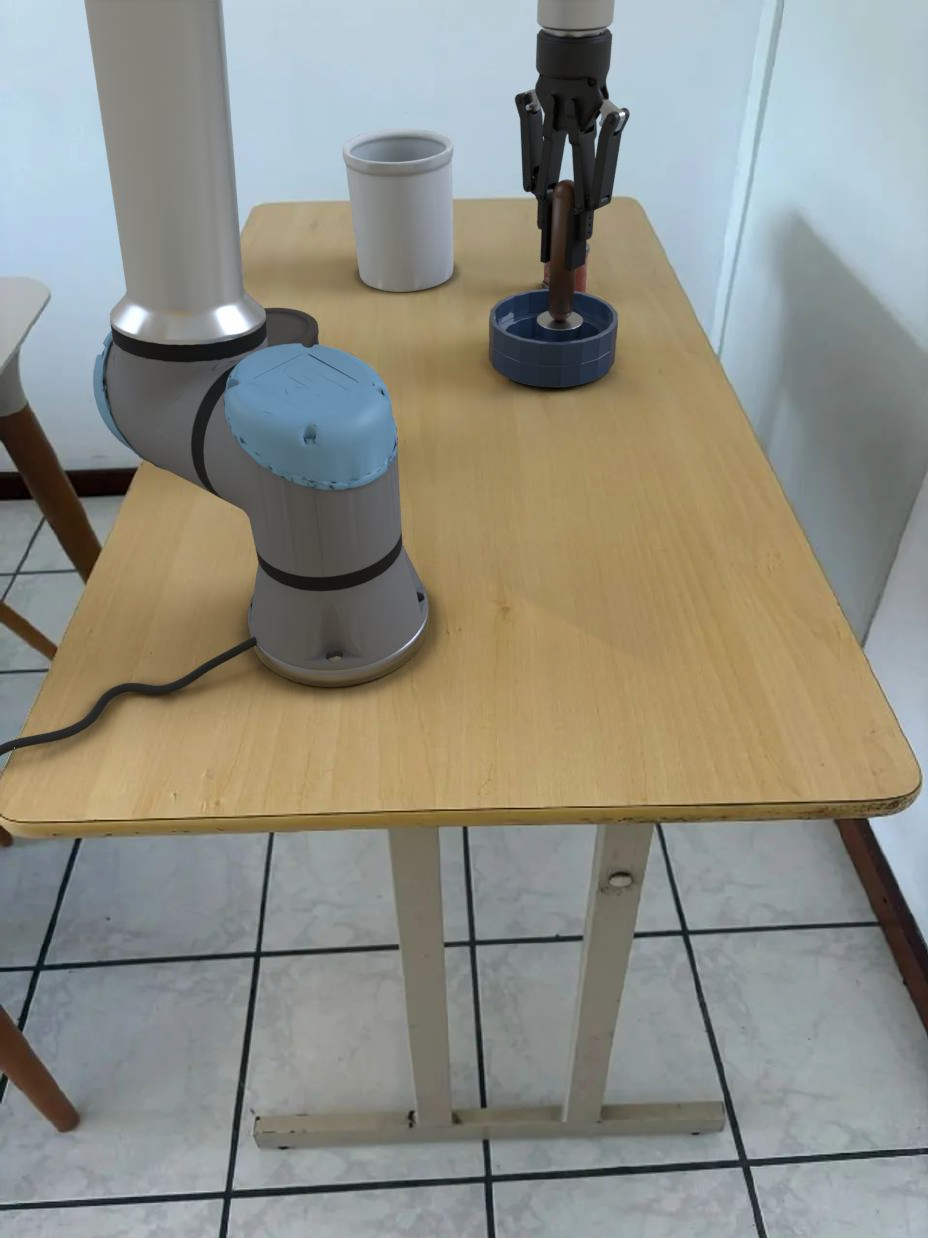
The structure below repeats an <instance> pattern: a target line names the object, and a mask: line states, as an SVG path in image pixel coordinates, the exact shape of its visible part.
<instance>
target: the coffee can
mask: <svg viewBox="0 0 928 1238" xmlns="http://www.w3.org/2000/svg"><path fill="white" fill-rule="evenodd" d="M263 308H264V310H265V313H266V328H267V342H268V347H272V346H277V345H283V344H300V343H301V344H302V345H303V346H304V347H306V348H311V347H313V346H314V345H316V344H317V345H320V341H319V334H320V333H319V332H320V330H319V324H318V321H317V320H316V318H314V317H313V316H312V315H311V314H308V313H307V312H304V311H301V310H298V309H295V308H294V309H293V308H287V307H263Z"/></svg>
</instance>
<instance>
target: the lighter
mask: <svg viewBox="0 0 928 1238" xmlns="http://www.w3.org/2000/svg"><path fill="white" fill-rule="evenodd" d="M590 253H591V245H590V244H589V243H588V242H587V244H586V259H585V264H584V265H582V266H580V267H579V268H577V269H575V285H574V291H577V292H584V293H587V292H586V291H587V279H588V278H587V277H588V276H587V275H588V262H589V254H590ZM543 264H544V266H543V280H542V281H541V289H549V270H550V261H549V262H547V263H543Z"/></svg>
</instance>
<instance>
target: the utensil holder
mask: <svg viewBox="0 0 928 1238" xmlns="http://www.w3.org/2000/svg"><path fill="white" fill-rule="evenodd" d="M454 149H455V148H454V142H453V140H452V139H451V138H450V137H449V136H447V135H445V134H443V133H440V132H437V131H433V130H427V129H419V128H389V129H382V130H381V129H380V130H375V131H370V132H369V131H368V132H365V133H361V134H359V135H356V136H354V137H352V138H350V139H349V140H347V141H346V142H344V144H343V146H342V160H343V162H344V163H345V169H346V170H345V171H346V179H347V187H348V188H347V189H348V194H349V203H350V211H351V218H352V228H353V237H354V243H355V249H356V258H357V265H358V266H357V267H358V272H359V277H360V279H361V281H362V282H363V283H364V284H365V285H367V286H369V287H371V288H373V289H376V290H380V291H385V292H392V293H393V292H394V293H411V292H419V291H425V290H428V289H432V288H435V287H438V286H440V285H443V284H444V283H446V282H447V281H448V280H450V278H451V277H452V275H453V274H454V197H453V196H454V195H453V164H452V158H453V157H454Z"/></svg>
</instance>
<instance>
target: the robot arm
mask: <svg viewBox="0 0 928 1238" xmlns="http://www.w3.org/2000/svg"><path fill="white" fill-rule="evenodd" d="M615 1H616V0H537V1H536V2H537V6H536V22H537V25H539V26H540V27H541V29H540V30H539V31H538V33H537V34H536V45H535V46H536V50H535V69H536V72H537V73H538V78H537V80H536V82H535V85H534V88H533V89H530V90H527V91H524V92H523V91H522V92H521V93H518V94H516V95H515V96H514V104H515V106H516V111H517V113H518V117H519V124H520V125H519V128H520V131H519V132H520V150H521V151H520V152H521V153H520V155H521V173H522V174H521V175H522V176H521V177H522V189H523V191H524V192H525V193H530V194H532V195H534V196H535V197H534V198H535V199H536V201H537V211H536V227H537V229H538V230H540V231H541V233H540V257H539V258H540V259H539V260H540V261H539V262H540V263H543V264H544V263H547V262H549V261H550V247H551V224H552V200H553V190H554V188H555V186H556V185H557V183H559V182H560V177H561V171H562V164H563V163H562V162H563V158H564V153H565V147H566V146H565V145H566V140H568V143H569V144H570V146H571V157H572V173H573V181H574V193H575V207H573V208H571V210H570V211H569V218H568V236H567V255H566V270H568V271H573V270H575V269H577V268H579V267H580V266H582V265H584V264H585V259H586V244H587V243H588V241H587V240H590V239H592V236H593V234H594V233H593V232H594V221H595V219H594V218H595V211H596V210H598V209H601V208H603V207H605V206H607V205H609V204H611V202H612V198H613V192H614V185H615V179H616V171H617V165H618V161H619V152H620V148H621V147H620V146H621V141H622V136H623V135H622V134H623V132H624V129H625V127H626V125H627V123H628V121H629V119H630V114H631V113H630V111H629V109H628V108H627V107H622V108H619V107H618V106H616V104H615V103H613V102H612V101H611V100H610V94H609V89H608V86H607V78H608V74H609V71H610V69H611V59H612V45H613V33H612V32H611V30H610V29H609V28H608V27H610V25H612V24H613V23H614V17H615V16H614V14H615V4H616V3H615ZM83 2H84V9H85V15H86V23H87V29H88V37H89V43H90V44H89V45H90V48H91V49H90V50H91V57H92V64H93V70H94V77H95V84H96V91H97V98H98V105H99V112H100V119H101V126H102V131H103V138H104V146H105V152H106V158H107V165H108V173H109V180H110V186H111V193H112V200H113V207H114V214H115V220H116V227H117V232H118V233H117V235H118V241H119V247H120V254H121V261H122V268H123V274H124V282H125V289H126V290H125V291H126V292H125V294H124V295H123V296H122V297H121V298H120V300H119V301H118V302H117V303H116V304H115V305H114V306H113V308H111V310H110V313H109V323H110V324H109V325H110V330H109V331H110V332H109V333H108V334H107V335H106V337H105V338H104V340H103V341H102V345H103V346H104V348H103V350H102V352H101V353H100V354H96V357H95V361H94V367H93V371H92V372H93V373H92V374H93V375H92V389H93V396H94V400H95V403H96V408H97V410H98V413H99V415H100V417H101V419H102V421H103V423H104V425H105V426H106V427H107V429H108V430H109V432H110V433H111V435H113V437H115V439H117V440H118V442H120V443H121V444H122V445H124V446H125V447H126V448H128V449H130V451H132V452H133V453H134V454H135V455H136V456H138V457H139V458H140V459H141V460H143V461H145V462H148V463H150V464H152V465H153V467H156V468H158V469H161V470H164V471H168V472H170V473H172V474H173V475H176V476H178V477H180V478H182V479H183V480H185V481H187V482H189V483H191V484H193V485H195V486H197V487H199V488H201V489H202V490H204V491H206V492H208V493H210V494H212V495H214V496H216V497H217V498H219V499H221V500H223V501H225V502H227V503H229V504H230V505H233V506H234V507H237V508H238V509H240V510H242V511H243V512H244V513H245V514H246V516H247V517H248V519H249V525H250V530H251V534H252V538H253V539H252V540H253V544H254V549H255V552H256V557H257V568H256V573H255V574H256V575H255V581H254V587H253V588H254V589H253V593H252V596H251V598H250V603H249V605H248V611H247V626H248V631H249V635H250V638H248V639H246V640H245V641H243V642H241V643H239V644H237V645H235V646H233V647H231V648H230V649H227V650H225V651H224V652H222V653H220V654H218V655H217V656H215V657H213V658H211V659H209V660H207V661H206V662H204V663H203V664H201V665H199V666H198V667H197V668H195V669H194V670H192V671H191V672H189V673H187V674H186V675H185V676H183V677H181V678H179V679H177V680H175V681H173V682H169V683H167V684H162V685H161V684H160V685H154V684H153V685H152V684H146V683H145V684H144V683H138V682H125V683H120V684H118V685H116V686H113V687H111V688H110V689H108V690H107V691H106V692H104V693H103V694H102V695H101V696H100V697H99V699H98V700H97V701H96V703H95V705H94V706H93V708H92V709H91V710H90V711H89V712H88V714H87V715H86V716H85V717H83V718H82V719H81V720H79V721H77V722H75V723H74V724H72V725H70V726H67V727H64V728H62V729H57V730H54V731H51V732H50V731H49V732H44V733H39V734H34V735H28V736H23V737H19V738H15V739H11V740H9V741H6V742H4V743H1V744H0V757H1V756H4V755H5V754H7V753H9V752H12V751H16V750H18V749H22V748H23V749H24V748H26V747H27V748H28V747H32V746H38V745H43V744H47V743H52V742H57V741H60V740H64V739H66V738H69V737H72V736H75V735H77V734H79V733H81V732H82V731H84V730H86V729H87V728H89V727H90V726H92V725H93V724H94V723H95V722H96V721H97V719H98V718H99V717H100V715H102V712H103V711H104V710H105V708H106V706H107V705H108V704H109V703H110V702H111V700H113V699H114V698H116V697H117V696H119V695H122V694H125V693H140V694H145V695H146V694H147V695H154V696H157V695H159V696H161V695H167V694H170V693H174V692H177V691H178V690H181V689H184V688H185V687H187V686H188V685H190V684H193V683H194V682H196V681H197V680H198V679H200V678H201V677H202V676H204V675H205V674H207V673H208V672H210V671H212V670H213V669H215V668H217V667H219V666H220V665H222V664H224V663H226V662H227V661H230V660H232V659H233V658H235V657H237V656H240V655H242V654H243V653H244V652H246V651H248V650H250V649H253V650H254V652H255V654H256V655H257V657H258V658H259V660H260V661H261V662H262V664H264V665H265V666H266V668H268V669H269V670H271V671H272V672H274V673H275V674H276V675H278V676H280V677H282V678H285V679H287V680H289V681H292V682H296V683H299V684H302V685H307V686H313V687H325V688H333V687H334V688H337V687H347V686H355V685H360V684H363V683H364V684H365V683H367V682H371V681H374V680H376V679H379V678H382V677H384V676H386V675H389V674H390V673H392V672H393V671H395V670H397V669H399V668H400V667H402V666H403V665H404V664H406V663H407V662H408V661H409V660H410V659H411V658H412V657H414V655H415V654H416V653H417V652H418V651H419V649H420V648H422V645H423V644H424V642H425V640H426V638H427V635H428V632H429V628H430V605H429V604H430V603H429V596H428V593H427V590H426V588H425V585H424V584H423V582H422V580H421V579H420V576H419V574H418V572H417V570H416V567H415V566H414V564H413V562H412V560H411V557H410V556H409V554H408V552H407V549H406V548H405V546H404V542H403V530H402V511H401V508H402V507H401V494H400V493H401V491H400V473H399V472H400V471H399V454H398V453H399V451H398V442H399V441H398V440H399V439H398V428H397V427H398V426H397V423H396V421H395V418H394V414H393V408H392V401H391V396H390V393H389V390H388V388H387V385H386V383H385V382H384V380H383V379H382V377H381V376H380V374H378V372H377V371H376V370H375V369H374V368H372V367H371V365H370V364H368V363H367V362H365V361H364V360H362V359H360V358H359V357H357V356H356V355H354V354H352V353H349V352H347V351H345V350H342V349H339V348H336V347H332V346H327V345H323V344H319V345H317V344H316V345H314V346H313V347H311V348H306V347H304V346H303V345H302V344H301V343H300V344H283V345H277V346H272V347H268V342H267V328H266V313H265V310H264V308H265V307H264V306H263V305H262V304H261V303H260V302H259V301H257V300H256V299H255V298H254V297H253V296H252V295H251V294H250V293H249V292H248V291H246V289H245V287H244V284H245V283H244V272H243V259H242V246H241V233H240V232H241V231H240V218H239V206H238V205H239V204H238V192H237V181H236V180H237V179H236V166H235V165H236V164H235V150H234V140H233V139H234V138H233V137H234V136H233V126H232V125H233V123H232V112H231V111H232V109H231V99H230V85H229V72H228V70H229V69H228V57H227V45H226V32H225V18H224V6H223V5H224V4H223V0H83ZM543 114H544V116H543ZM600 115H601V118H600V120H599V121H598V122H599V123H598V126H599V127H601V128H600V130H599V133H598V126H597V120H598V118H599V117H600ZM597 137H598V138H597ZM596 138H597V143H596ZM595 143H596V144H597V145H596V144H595ZM14 747H15V749H14Z"/></svg>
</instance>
